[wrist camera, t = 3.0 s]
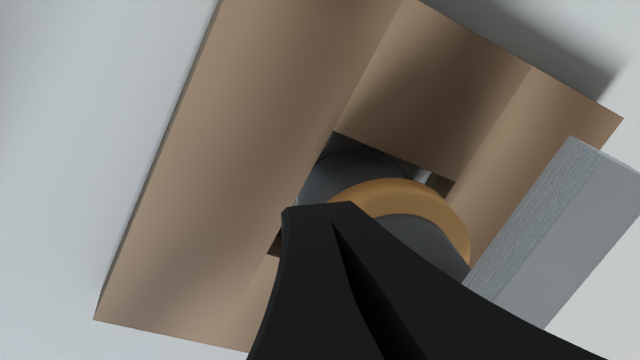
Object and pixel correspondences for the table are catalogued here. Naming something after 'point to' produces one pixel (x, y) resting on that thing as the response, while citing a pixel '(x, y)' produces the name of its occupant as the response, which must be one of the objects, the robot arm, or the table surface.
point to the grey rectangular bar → (558, 233)
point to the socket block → (309, 140)
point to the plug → (392, 205)
